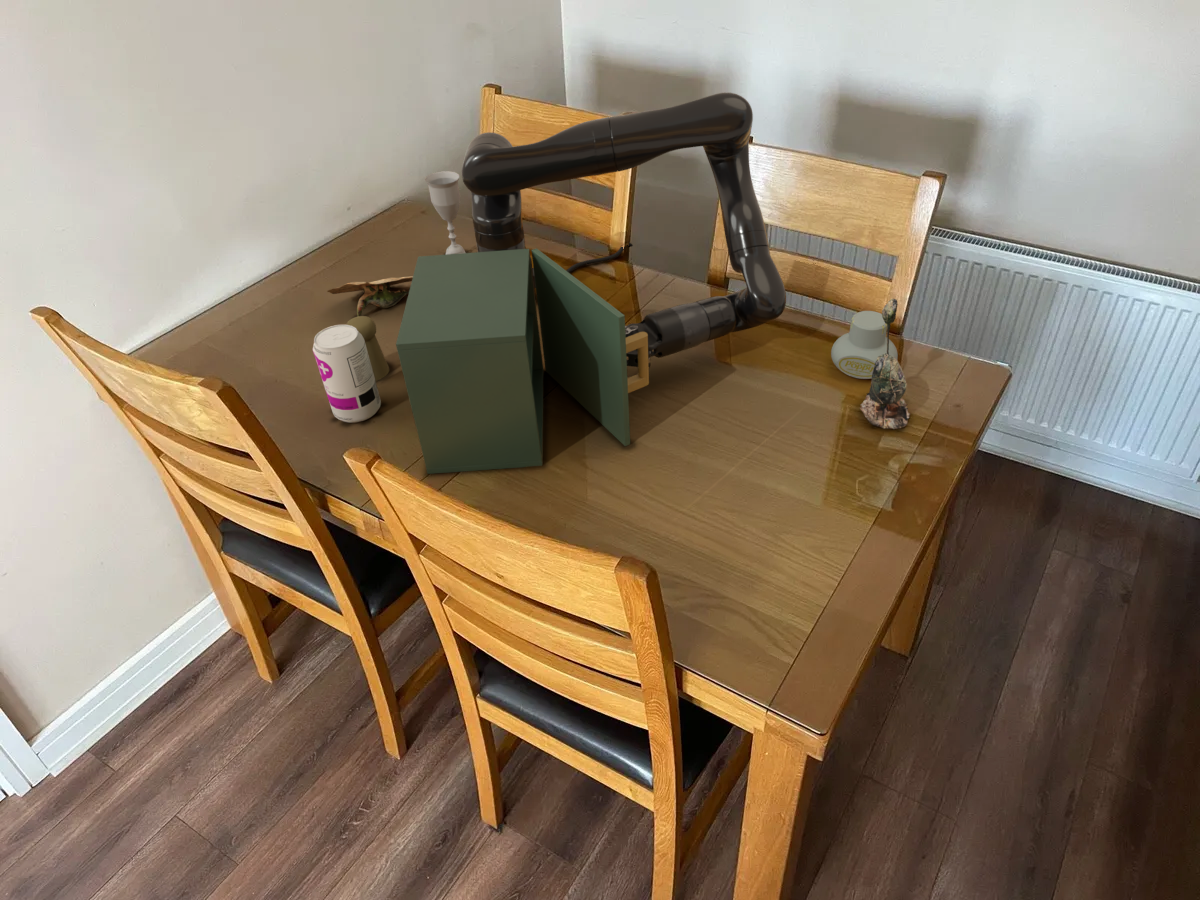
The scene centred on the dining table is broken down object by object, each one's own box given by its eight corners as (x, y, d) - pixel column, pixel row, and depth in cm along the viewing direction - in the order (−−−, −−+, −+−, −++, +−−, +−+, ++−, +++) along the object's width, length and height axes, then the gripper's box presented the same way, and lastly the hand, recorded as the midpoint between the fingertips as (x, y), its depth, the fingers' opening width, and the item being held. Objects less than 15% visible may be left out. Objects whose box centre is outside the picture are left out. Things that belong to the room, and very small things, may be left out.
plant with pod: (847, 429, 139) (864, 321, 126) (868, 391, 146) (886, 285, 133) (898, 443, 135) (922, 333, 122) (917, 403, 143) (941, 296, 130)
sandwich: (387, 311, 188) (384, 274, 186) (431, 313, 179) (429, 275, 177) (314, 318, 174) (310, 279, 172) (357, 321, 165) (354, 280, 164)
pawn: (381, 383, 156) (367, 330, 149) (350, 380, 157) (335, 328, 150) (394, 364, 160) (381, 312, 153) (364, 361, 161) (349, 310, 154)
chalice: (478, 252, 193) (465, 173, 181) (462, 266, 188) (448, 186, 176) (450, 247, 195) (436, 169, 184) (433, 261, 191) (418, 182, 179)
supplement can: (340, 430, 146) (317, 355, 136) (328, 405, 151) (305, 331, 142) (387, 414, 148) (367, 340, 139) (373, 390, 154) (353, 317, 144)
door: (575, 359, 158) (564, 238, 143) (657, 432, 140) (655, 303, 125) (545, 371, 156) (531, 249, 140) (625, 446, 138) (618, 317, 123)
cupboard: (543, 371, 156) (529, 248, 140) (542, 466, 136) (525, 335, 120) (443, 378, 156) (418, 256, 141) (427, 474, 136) (395, 344, 121)
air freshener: (824, 375, 150) (830, 325, 144) (835, 350, 156) (842, 301, 149) (889, 388, 146) (898, 338, 140) (898, 362, 152) (908, 312, 145)
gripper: (695, 367, 145) (601, 397, 139) (658, 330, 154) (568, 357, 149) (696, 328, 140) (598, 358, 135) (657, 292, 149) (564, 319, 144)
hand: (582, 357), depth 142 cm, fingers closed
